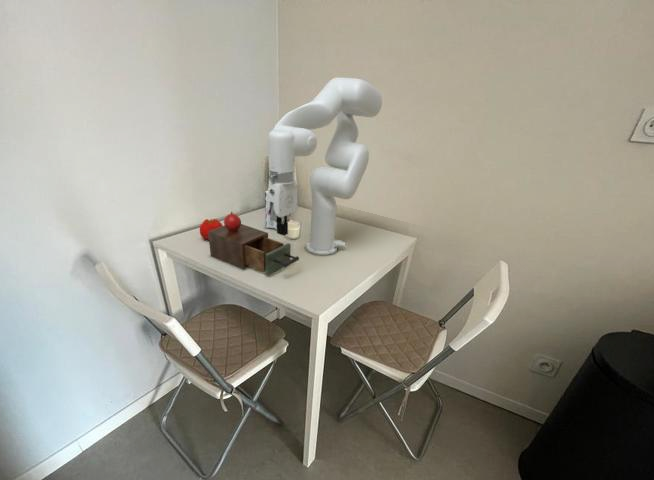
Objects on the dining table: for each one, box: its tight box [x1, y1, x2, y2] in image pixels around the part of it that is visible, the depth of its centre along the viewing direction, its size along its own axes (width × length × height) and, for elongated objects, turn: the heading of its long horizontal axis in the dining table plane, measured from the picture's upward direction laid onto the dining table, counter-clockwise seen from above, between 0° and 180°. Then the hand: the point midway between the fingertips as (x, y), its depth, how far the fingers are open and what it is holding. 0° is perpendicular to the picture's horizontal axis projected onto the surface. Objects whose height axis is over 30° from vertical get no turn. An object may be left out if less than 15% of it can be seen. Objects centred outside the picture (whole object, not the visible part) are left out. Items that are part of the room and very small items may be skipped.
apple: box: [223, 211, 242, 232], centre depth 123 cm, size 6×6×7 cm
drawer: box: [244, 237, 300, 277], centre depth 120 cm, size 21×12×8 cm, turn 56°
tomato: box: [199, 218, 224, 241], centre depth 140 cm, size 9×9×8 cm
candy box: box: [264, 190, 277, 231], centre depth 155 cm, size 14×6×16 cm, turn 164°
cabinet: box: [208, 223, 269, 270], centre depth 127 cm, size 17×13×10 cm
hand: (282, 233), depth 113 cm, fingers closed
